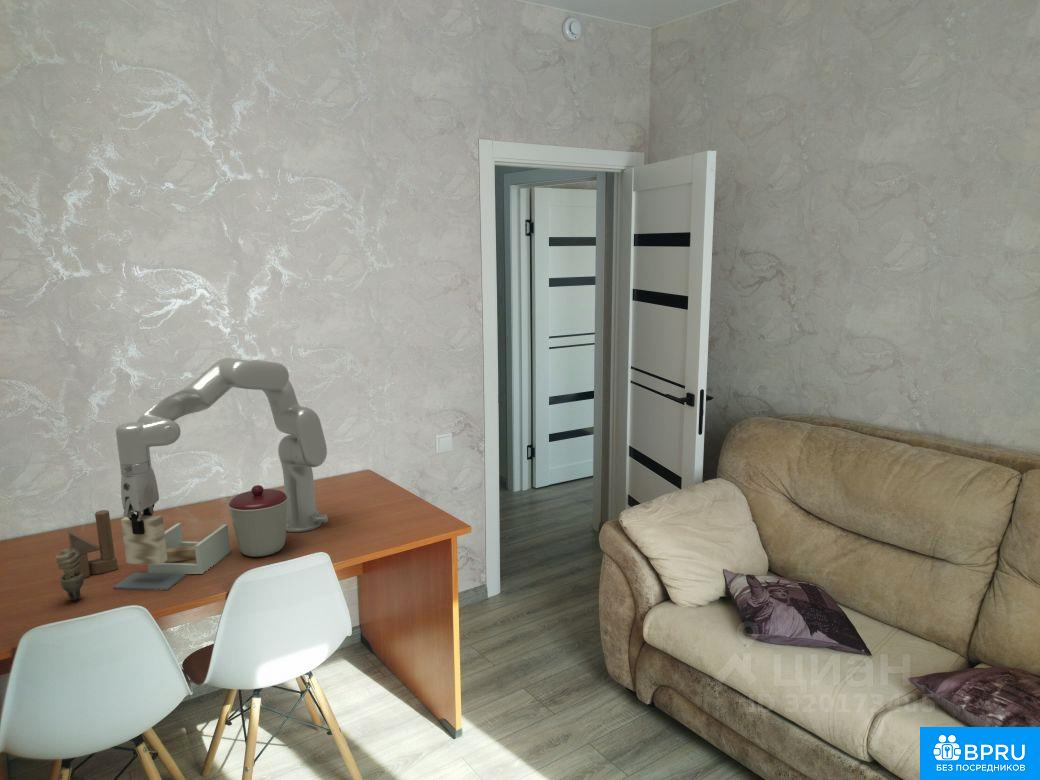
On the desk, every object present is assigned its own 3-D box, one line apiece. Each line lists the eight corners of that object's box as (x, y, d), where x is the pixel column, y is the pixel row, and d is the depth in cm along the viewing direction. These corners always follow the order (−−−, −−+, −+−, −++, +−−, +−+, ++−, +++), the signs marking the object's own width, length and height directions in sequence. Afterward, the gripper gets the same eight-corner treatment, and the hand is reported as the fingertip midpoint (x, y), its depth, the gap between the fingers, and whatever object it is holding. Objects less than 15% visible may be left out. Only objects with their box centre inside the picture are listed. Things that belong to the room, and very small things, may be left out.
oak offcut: (201, 555, 219) (201, 545, 219) (200, 558, 216) (200, 548, 215) (164, 559, 216) (164, 549, 216) (163, 562, 212) (162, 552, 212)
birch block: (167, 559, 206) (162, 515, 204) (160, 564, 203) (154, 520, 200) (134, 558, 207) (129, 515, 205) (126, 563, 204) (121, 519, 202)
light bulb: (80, 605, 194) (72, 552, 191) (58, 606, 193) (50, 553, 190) (90, 595, 199) (82, 543, 196) (69, 596, 199) (61, 544, 196)
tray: (230, 551, 227) (227, 524, 225) (201, 575, 211) (198, 545, 209) (180, 550, 229) (177, 523, 227) (148, 573, 212) (144, 544, 211)
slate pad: (185, 576, 210) (185, 574, 210) (167, 590, 201) (167, 588, 201) (133, 574, 212) (133, 572, 212) (113, 588, 203) (113, 586, 203)
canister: (287, 535, 239) (282, 473, 235) (298, 554, 223) (292, 489, 220) (228, 546, 231) (222, 482, 227) (235, 567, 215) (228, 499, 211)
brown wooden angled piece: (74, 576, 212) (65, 517, 208) (115, 565, 218) (108, 508, 215) (76, 580, 209) (67, 520, 205) (118, 569, 215) (110, 511, 212)
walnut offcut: (205, 568, 216) (204, 559, 215) (198, 574, 212) (196, 564, 211) (167, 567, 217) (166, 558, 217) (159, 573, 213) (158, 563, 213)
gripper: (129, 477, 192) (137, 543, 195) (166, 459, 208) (173, 520, 211) (103, 476, 192) (111, 542, 196) (141, 459, 209) (149, 520, 212)
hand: (143, 530), depth 203 cm, fingers closed on birch block, 3 cm apart
